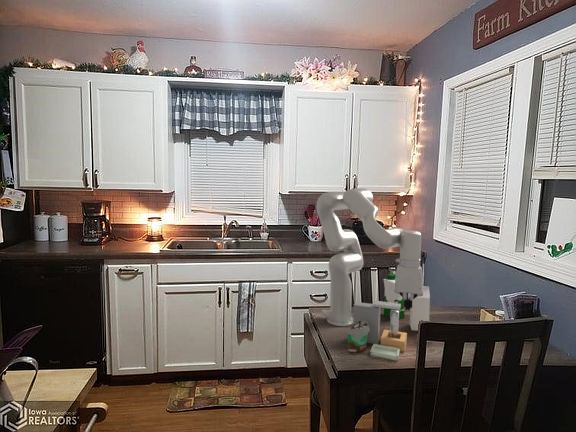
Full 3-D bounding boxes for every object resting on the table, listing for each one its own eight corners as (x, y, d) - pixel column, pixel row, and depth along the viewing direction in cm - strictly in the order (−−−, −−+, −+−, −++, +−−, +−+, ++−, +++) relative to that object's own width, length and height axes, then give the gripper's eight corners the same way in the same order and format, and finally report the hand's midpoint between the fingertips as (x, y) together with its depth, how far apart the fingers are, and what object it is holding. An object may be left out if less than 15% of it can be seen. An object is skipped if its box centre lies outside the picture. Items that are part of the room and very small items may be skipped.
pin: (389, 346, 152) (390, 311, 151) (390, 342, 155) (391, 309, 154) (397, 347, 151) (398, 312, 149) (398, 344, 154) (399, 310, 152)
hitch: (351, 342, 155) (352, 306, 153) (356, 334, 163) (357, 300, 162) (404, 351, 147) (405, 314, 146) (406, 342, 155) (408, 306, 154)
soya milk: (393, 311, 190) (395, 272, 188) (407, 317, 182) (409, 276, 180) (380, 315, 186) (381, 274, 184) (394, 321, 178) (395, 279, 176)
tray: (369, 356, 144) (370, 351, 144) (373, 348, 150) (373, 343, 150) (397, 361, 140) (397, 356, 140) (399, 352, 146) (399, 348, 146)
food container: (362, 358, 142) (362, 332, 141) (346, 354, 145) (347, 328, 144) (373, 345, 152) (374, 321, 151) (358, 342, 156) (359, 318, 155)
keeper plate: (373, 306, 152) (373, 303, 152) (375, 303, 156) (375, 300, 156) (399, 309, 149) (399, 307, 148) (400, 306, 153) (401, 303, 152)
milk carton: (428, 331, 166) (430, 289, 164) (411, 330, 167) (413, 288, 165) (426, 325, 173) (427, 284, 171) (409, 324, 174) (411, 283, 172)
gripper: (388, 263, 147) (386, 309, 149) (430, 267, 141) (427, 315, 143) (391, 259, 154) (389, 303, 156) (431, 262, 148) (428, 308, 150)
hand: (407, 309), depth 150 cm, fingers closed
